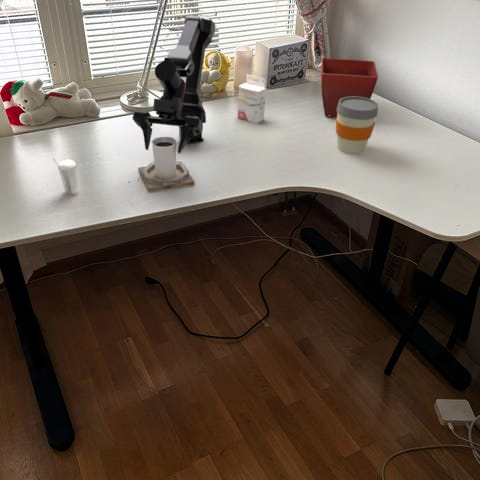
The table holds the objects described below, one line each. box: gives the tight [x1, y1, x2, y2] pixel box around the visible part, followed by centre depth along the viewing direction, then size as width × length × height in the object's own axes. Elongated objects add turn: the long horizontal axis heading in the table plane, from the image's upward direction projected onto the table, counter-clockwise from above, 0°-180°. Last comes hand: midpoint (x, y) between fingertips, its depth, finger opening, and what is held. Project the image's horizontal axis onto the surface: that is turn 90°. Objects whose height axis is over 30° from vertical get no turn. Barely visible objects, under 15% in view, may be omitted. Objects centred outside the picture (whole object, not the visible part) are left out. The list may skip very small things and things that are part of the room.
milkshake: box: [52, 158, 78, 196], centre depth 138 cm, size 4×5×10 cm
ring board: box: [137, 161, 195, 193], centre depth 148 cm, size 13×13×2 cm
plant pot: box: [320, 57, 379, 119], centre depth 189 cm, size 19×19×17 cm
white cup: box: [151, 136, 177, 179], centre depth 146 cm, size 7×7×10 cm
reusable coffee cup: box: [335, 96, 379, 155], centre depth 164 cm, size 13×13×15 cm
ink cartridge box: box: [237, 74, 267, 124], centre depth 182 cm, size 9×5×15 cm, turn 58°
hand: (162, 151), depth 143 cm, fingers open, 9 cm apart
